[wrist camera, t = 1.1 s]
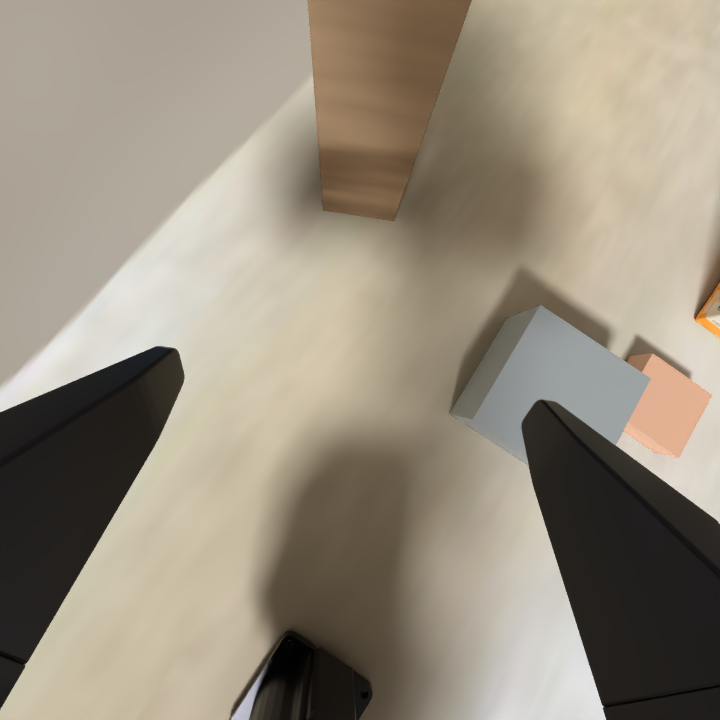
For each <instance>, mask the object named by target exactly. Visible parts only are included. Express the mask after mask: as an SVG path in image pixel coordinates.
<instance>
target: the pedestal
mask: <svg viewBox="0 0 720 720" xmlns="http://www.w3.org/2000/svg"><path fill="white" fill-rule="evenodd" d="M650 380H651V378H649V377H648V376H646V375H645V374H643V373H642V372H640V371H639V370H637V369H636V368H634V367H633V366H631V365H630V364H628V363H627V362H625V361H624V360H623V359H621V358H620V357H618V356H617V355H615V354H614V353H612V352H611V351H609V350H608V349H606V348H605V347H603V346H602V345H600V344H599V343H597V342H596V341H594V340H593V339H591V338H590V337H588V336H587V335H585V334H584V333H582V332H581V331H579V330H578V329H576V328H575V327H573V326H572V325H570V324H569V323H567V322H566V321H564V320H563V319H561V318H560V317H558V316H557V315H555V314H554V313H552V312H551V311H549V310H548V309H546V308H545V307H543V306H542V305H539V306H536V307H534V308H531V309H529V310H526V311H523V312H521V313H518V314H516V315H513V316H511V317H508V318H507V319H506V320H505V322H504V324H503V325H502V327H501V329H500V330H499V332H498V334H497V335H496V337H495V339H494V340H493V342H492V343H491V345H490V347H489V348H488V350H487V352H486V353H485V355H484V357H483V358H482V360H481V362H480V363H479V365H478V367H477V368H476V370H475V372H474V373H473V375H472V377H471V378H470V380H469V382H468V383H467V385H466V387H465V388H464V390H463V392H462V393H461V395H460V397H459V398H458V400H457V402H456V403H455V405H454V407H453V408H452V410H451V412H450V413H449V414H450V415H452V416H453V417H455V418H456V419H458V420H459V421H461V422H462V423H464V424H465V425H467V426H468V427H470V428H472V429H473V430H475V431H476V432H478V433H479V434H481V435H482V436H484V437H485V438H487V439H488V440H490V441H491V442H493V443H494V444H496V445H497V446H499V447H501V448H502V449H504V450H505V451H507V452H508V453H510V454H511V455H513V456H514V457H516V458H517V459H519V460H520V461H522V462H523V463H525V464H526V465H528V466H529V464H528V459H527V455H526V450H525V445H524V440H523V435H522V430H521V424H522V421H523V419H524V417H525V416H526V414H527V413H528V411H529V410H530V409H531V407H532V406H533V404H534V403H535V402H536V401H537V400H540V399H544V400H551V401H555V402H557V403H559V404H560V405H561V406H563V407H564V408H566V409H567V410H568V411H570V412H571V413H572V414H574V415H575V416H576V417H578V418H579V419H580V420H582V421H583V422H584V423H586V424H587V425H589V426H590V427H591V428H593V429H594V430H595V431H597V432H598V433H599V434H601V435H602V436H603V437H605V438H606V439H607V440H609V441H610V442H611V443H613V444H614V445H616V444H617V442H618V440H619V438H620V436H621V434H622V432H623V430H624V428H625V427H626V425H627V423H628V421H629V419H630V417H631V415H632V413H633V412H634V410H635V408H636V406H637V404H638V402H639V400H640V398H641V396H642V395H643V393H644V391H645V389H646V387H647V385H648V383H649V381H650Z"/></svg>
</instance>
